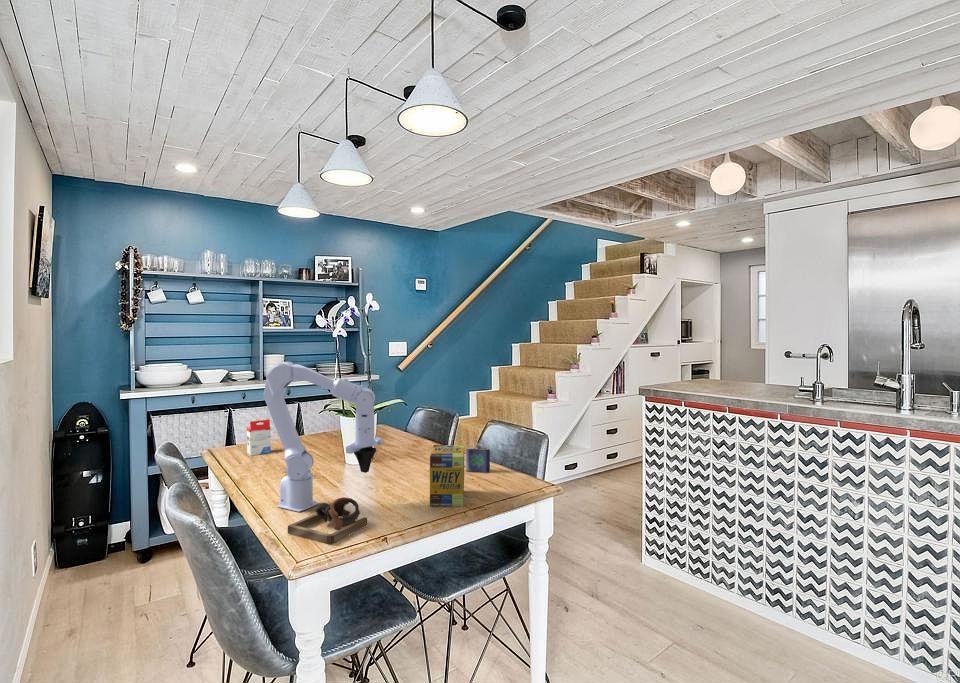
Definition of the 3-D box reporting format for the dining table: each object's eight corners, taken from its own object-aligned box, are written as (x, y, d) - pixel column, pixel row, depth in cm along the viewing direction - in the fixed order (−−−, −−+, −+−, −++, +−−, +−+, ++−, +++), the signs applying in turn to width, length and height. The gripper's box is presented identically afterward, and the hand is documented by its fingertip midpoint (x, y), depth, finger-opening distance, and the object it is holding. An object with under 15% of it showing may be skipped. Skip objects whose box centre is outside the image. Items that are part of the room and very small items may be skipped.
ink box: (267, 450, 218) (267, 417, 218) (270, 453, 214) (270, 419, 214) (246, 453, 213) (246, 419, 212) (249, 456, 209) (249, 421, 209)
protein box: (429, 507, 150) (429, 456, 150) (433, 490, 166) (433, 444, 165) (463, 507, 151) (464, 456, 150) (464, 490, 166) (464, 444, 166)
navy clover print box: (465, 471, 188) (465, 443, 187) (466, 469, 191) (467, 442, 190) (489, 473, 186) (489, 445, 186) (490, 471, 189) (490, 443, 189)
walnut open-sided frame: (287, 533, 131) (287, 525, 130) (326, 515, 143) (326, 508, 143) (330, 544, 124) (330, 536, 124) (367, 525, 136) (367, 517, 136)
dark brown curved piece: (358, 517, 143) (364, 497, 140) (352, 544, 135) (357, 523, 131) (317, 509, 141) (321, 488, 138) (307, 535, 133) (312, 514, 129)
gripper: (358, 433, 144) (358, 479, 145) (390, 425, 157) (389, 467, 158) (340, 431, 148) (340, 476, 148) (372, 423, 161) (372, 464, 161)
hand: (364, 471), depth 153 cm, fingers closed
